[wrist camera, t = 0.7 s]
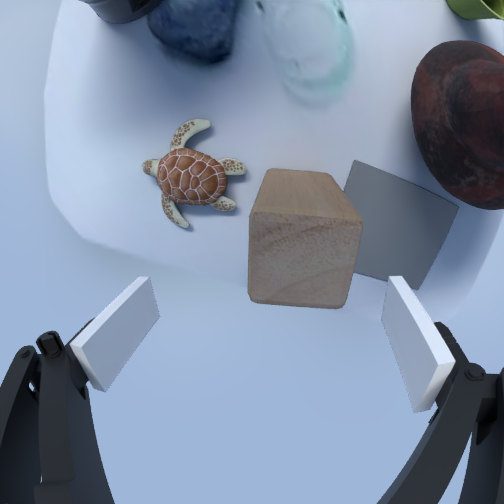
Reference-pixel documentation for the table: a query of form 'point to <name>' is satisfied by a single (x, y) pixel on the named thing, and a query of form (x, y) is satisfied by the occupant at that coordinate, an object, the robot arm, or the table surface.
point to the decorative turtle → (192, 174)
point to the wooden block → (302, 241)
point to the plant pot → (478, 9)
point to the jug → (462, 120)
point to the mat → (397, 224)
